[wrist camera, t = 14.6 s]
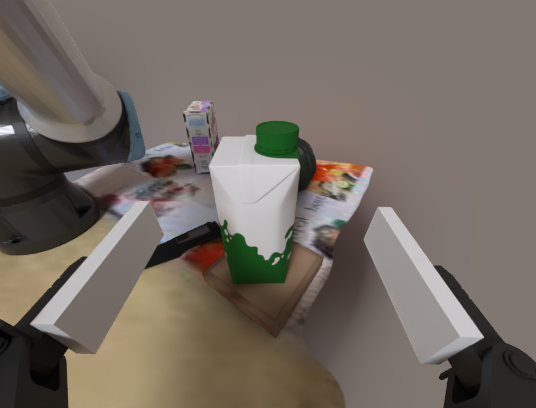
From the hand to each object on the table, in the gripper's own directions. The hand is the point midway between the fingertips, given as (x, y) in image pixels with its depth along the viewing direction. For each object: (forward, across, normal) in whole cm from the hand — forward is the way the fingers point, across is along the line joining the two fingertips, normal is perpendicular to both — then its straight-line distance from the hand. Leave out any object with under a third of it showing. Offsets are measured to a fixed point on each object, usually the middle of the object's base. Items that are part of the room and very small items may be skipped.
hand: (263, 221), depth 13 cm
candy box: (+48, -18, -21) cm, 56 cm away
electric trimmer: (+14, -14, -21) cm, 29 cm away
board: (+10, 0, -20) cm, 22 cm away
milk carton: (+10, -1, -18) cm, 20 cm away
